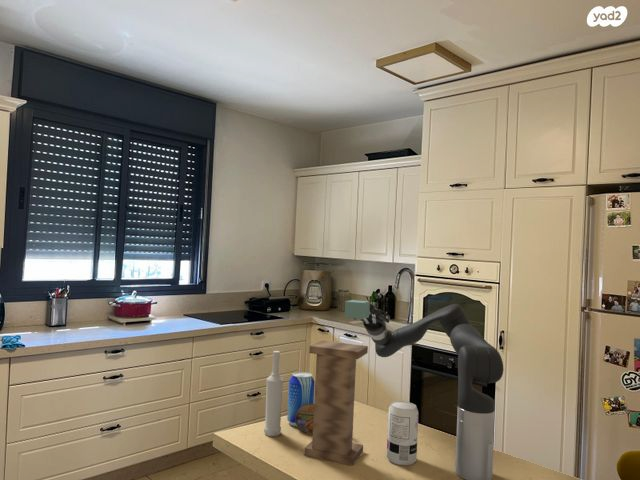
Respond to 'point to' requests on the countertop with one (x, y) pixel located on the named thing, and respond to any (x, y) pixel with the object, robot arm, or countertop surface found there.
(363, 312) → the mallet
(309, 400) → the beer can
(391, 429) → the supplement can
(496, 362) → the robot arm
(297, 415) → the tin
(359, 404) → the countertop surface
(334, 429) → the stand
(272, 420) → the bottle
